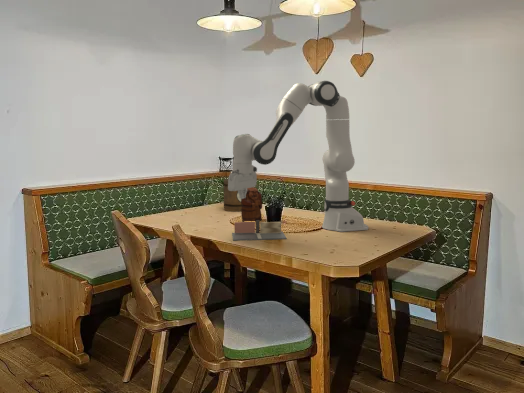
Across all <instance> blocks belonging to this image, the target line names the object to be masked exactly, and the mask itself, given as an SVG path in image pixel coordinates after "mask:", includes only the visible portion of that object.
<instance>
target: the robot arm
mask: <svg viewBox="0 0 524 393" xmlns="http://www.w3.org/2000/svg"><path fill="white" fill-rule="evenodd" d="M308 105H311V106H315V107H317V106H318V107H320V106H321V107H322V106H323V107H324V109H325V114H326V115H325V117H326V118H325V119H326V120H325V130H326V131H325V135H326V136H325V137H326V139H327V140H326V141H327V144H328V150H326V151H324V153H323V155H322V163H323V170H324V171H323V172H324V178H325V199H324V217H323V223H322V226H321V227H322V228H323V229H325V230H329V231H337V232H341V233H342V232H343V233H344V232H352V231H353V232H354V231H355V232H356V231H368V230H369V225H368V224H366V223H364V222H365V221H364V217H363V215H362V214H361V213H360V212H359V211H357V209H355V208H354V207H353V206H356V202H355V201H353V200H351V199H349V194H350V193H349V189H350V185H349V183H350V182H349V181H348V175H347V172H349V171H350V170H352V169H353V168H354V166H355V164H356V163H355V157H354V155H353V148H352V143H351V137H350V108H349V102H348V100H347V98H346V97H344V96H342V95H340V93H339V91H338V88H337V87H336V85H335V84H334V83H333V82H331V81H329V80H321V81H317V82H314V83H312V84H310V85H308V86H307V85H306V84H304V83H301V82H298V83H295V84H293V86H291V88H290V89H289V90H288V91H287V92H286V93H285V94H284V96H283V98H282V99H281V100H280V102H279V103H278V106H277V109H276V110H275V116H276V121H275V123H274V126H273V127H272V129H271V130H270V132H269V133H268V135H267V137H266V138H265V139H264V140H263V141H262V140H261V139H258V138H256V137H254V136H252V135H251V134H249V133H244V134H239V135H236V136H235V137H234V139H233V143H232V155H233V160H232V171H230V173H229V176H228V178H227V179H228V190H229V191H238V193H239V198H240V199H243V198H246V193H247V188H251V187H254V188H256V186H257V182H258V181H257V177H258V175H257V172H258V167H257V166H254V165H253V161H256V162H257V163H258V164H259V165H265V166H266V165H269V164H271V163H273V162H274V161H275V159H276V157H277V152H278V148H279V146H280V144H281V142H282V140H283V139H284V138H285V136H286V134H287V132H288V131H289V129H290V128H291V126H292V125H293V124H294V123H295V122H296V121H297V119H298V118H299V117H300V115H301V114H302V113H303V111H304V110H305V108H306V107H307V106H308Z"/></svg>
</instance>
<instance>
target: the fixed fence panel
mask: <svg viewBox="0 0 524 393" xmlns="http://www.w3.org/2000/svg"><path fill="white" fill-rule="evenodd" d="M260 221H261V220H256V221H255V232H256V233H281V231H282V221H270V222H269V221H267V222H266V221H264V222H262V221H261V222H260Z"/></svg>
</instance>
